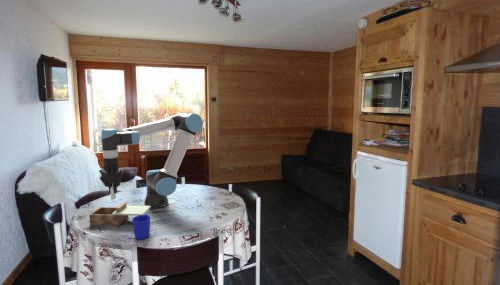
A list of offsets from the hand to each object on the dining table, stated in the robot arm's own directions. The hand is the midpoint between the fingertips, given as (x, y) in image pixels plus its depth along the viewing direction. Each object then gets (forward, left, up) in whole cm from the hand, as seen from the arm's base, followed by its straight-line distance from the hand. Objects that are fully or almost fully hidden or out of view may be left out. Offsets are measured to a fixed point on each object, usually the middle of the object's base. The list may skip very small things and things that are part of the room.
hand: (113, 198), depth 168 cm
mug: (-23, +18, -13) cm, 32 cm away
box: (+2, +1, -13) cm, 13 cm away
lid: (-11, +1, -7) cm, 12 cm away
